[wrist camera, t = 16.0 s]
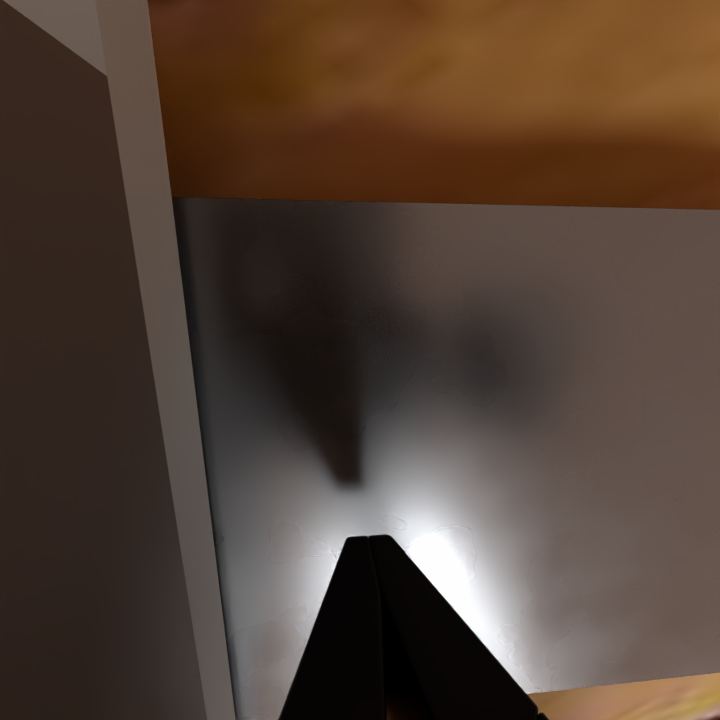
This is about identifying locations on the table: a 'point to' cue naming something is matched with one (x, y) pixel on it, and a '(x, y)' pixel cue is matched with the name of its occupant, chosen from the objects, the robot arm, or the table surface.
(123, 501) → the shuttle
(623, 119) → the table surface
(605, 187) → the table surface
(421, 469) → the press frame
